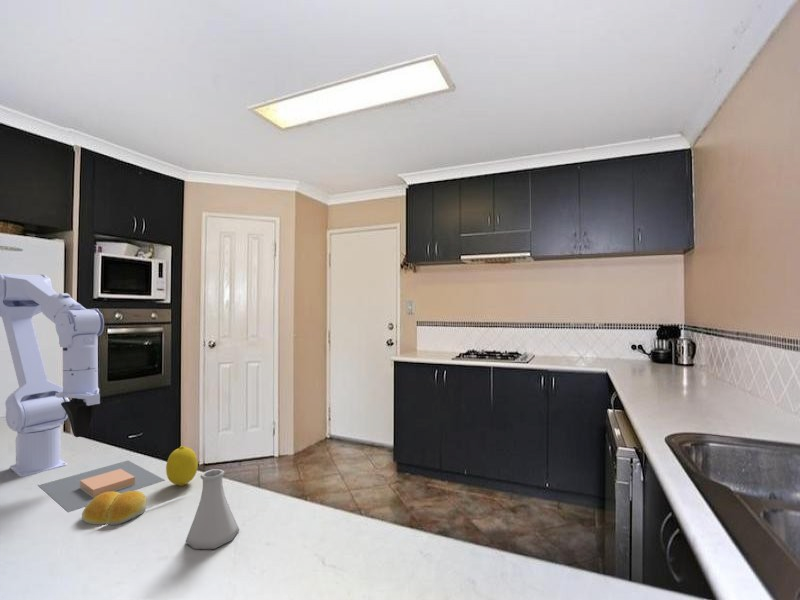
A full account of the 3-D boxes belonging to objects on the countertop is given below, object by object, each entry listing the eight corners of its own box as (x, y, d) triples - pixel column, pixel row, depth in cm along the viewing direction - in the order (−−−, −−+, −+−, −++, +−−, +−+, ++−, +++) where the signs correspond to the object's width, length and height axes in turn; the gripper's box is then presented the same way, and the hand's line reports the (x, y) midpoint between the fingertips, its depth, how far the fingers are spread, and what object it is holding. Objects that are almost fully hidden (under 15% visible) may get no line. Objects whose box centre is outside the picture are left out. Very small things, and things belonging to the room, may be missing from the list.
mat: (38, 487, 84) (37, 485, 84) (128, 462, 97) (128, 460, 97) (68, 514, 73) (68, 512, 73) (165, 482, 86) (165, 480, 86)
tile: (80, 480, 82) (93, 489, 78) (120, 468, 88) (134, 476, 84) (80, 488, 82) (93, 497, 78) (120, 475, 88) (135, 484, 84)
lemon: (203, 481, 86) (203, 441, 86) (187, 493, 81) (186, 451, 81) (177, 480, 87) (177, 441, 87) (159, 492, 81) (159, 450, 81)
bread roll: (135, 525, 70) (134, 500, 70) (74, 530, 68) (74, 505, 68) (155, 501, 78) (155, 479, 78) (101, 505, 77) (101, 483, 77)
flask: (248, 529, 68) (247, 467, 68) (214, 555, 61) (214, 485, 61) (211, 522, 70) (211, 461, 70) (175, 546, 63) (175, 479, 63)
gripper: (44, 368, 87) (45, 434, 87) (68, 375, 79) (68, 448, 79) (85, 363, 93) (86, 425, 93) (111, 369, 84) (112, 438, 84)
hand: (81, 435), depth 86 cm, fingers closed
